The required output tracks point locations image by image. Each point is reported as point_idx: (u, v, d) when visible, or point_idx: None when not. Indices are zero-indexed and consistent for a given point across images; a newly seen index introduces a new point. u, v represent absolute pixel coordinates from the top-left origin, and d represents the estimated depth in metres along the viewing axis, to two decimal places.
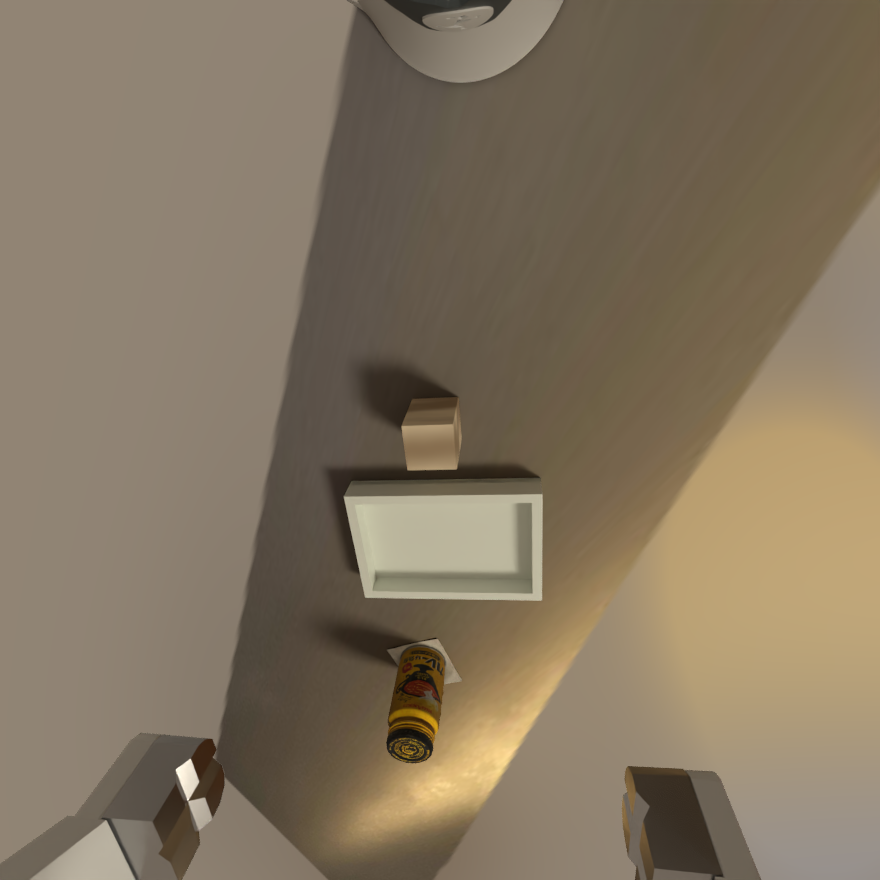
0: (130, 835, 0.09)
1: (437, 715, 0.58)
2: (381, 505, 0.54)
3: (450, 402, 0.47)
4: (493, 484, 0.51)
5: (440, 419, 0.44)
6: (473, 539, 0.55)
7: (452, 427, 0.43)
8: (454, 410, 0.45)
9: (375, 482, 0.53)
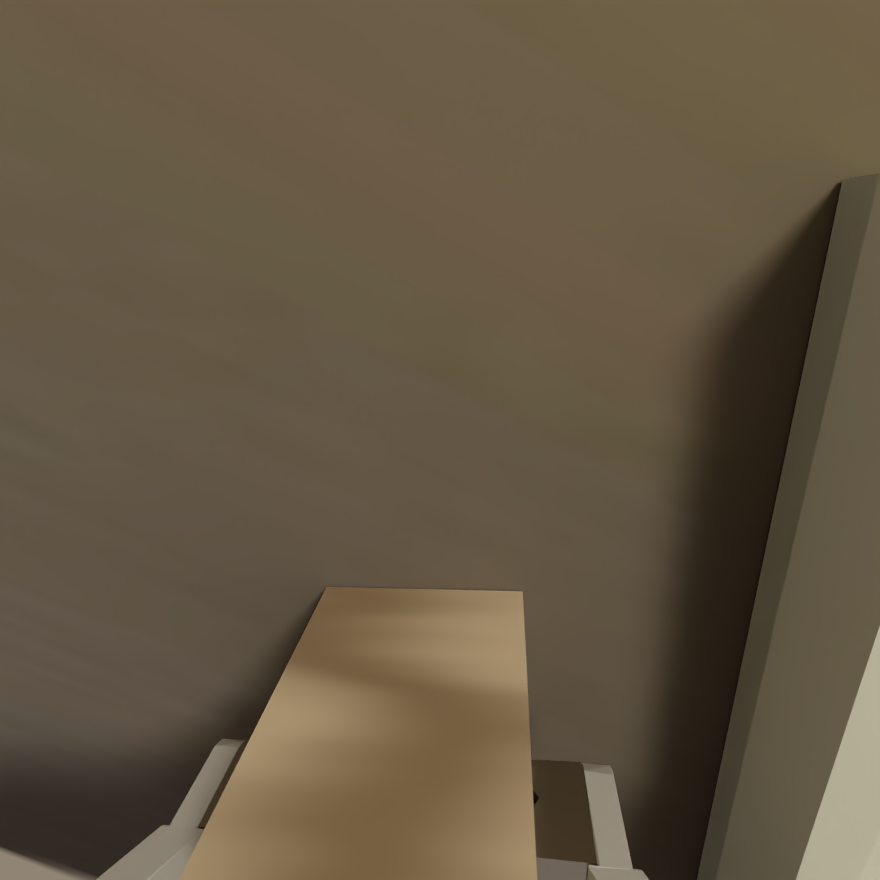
0: None
1: None
2: None
3: None
4: (817, 496, 0.08)
5: None
6: None
7: None
8: (268, 707, 0.09)
9: None
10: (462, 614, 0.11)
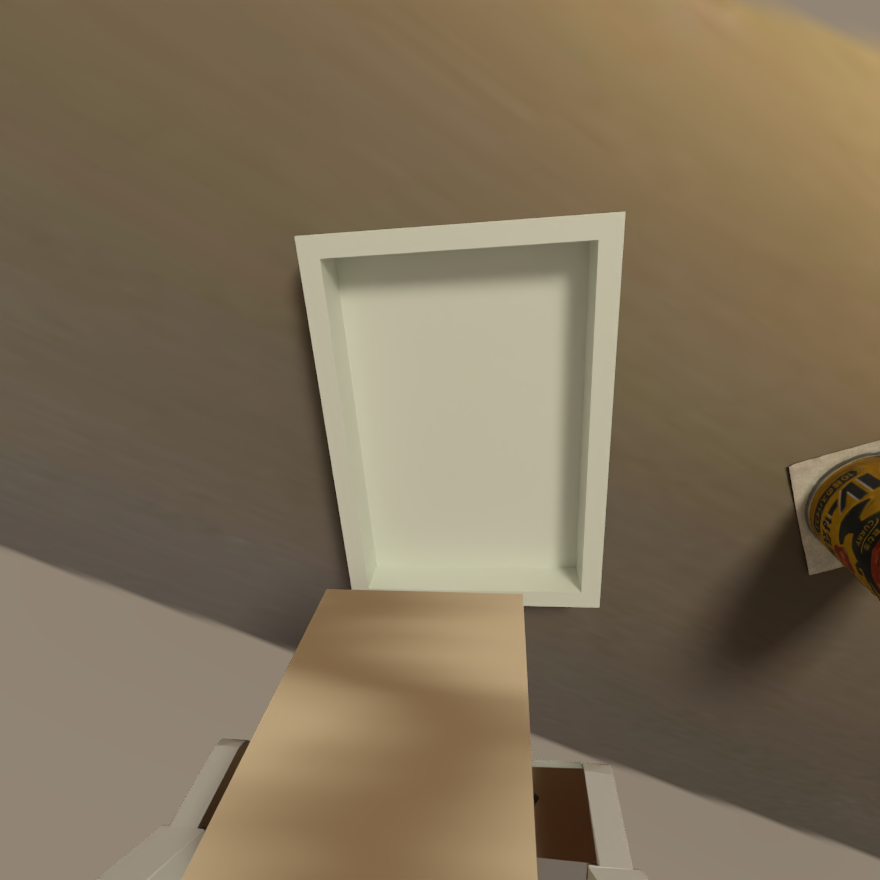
0: None
1: None
2: (399, 536, 0.30)
3: None
4: None
5: None
6: (469, 376, 0.26)
7: None
8: (269, 710, 0.09)
9: None
10: (462, 617, 0.11)
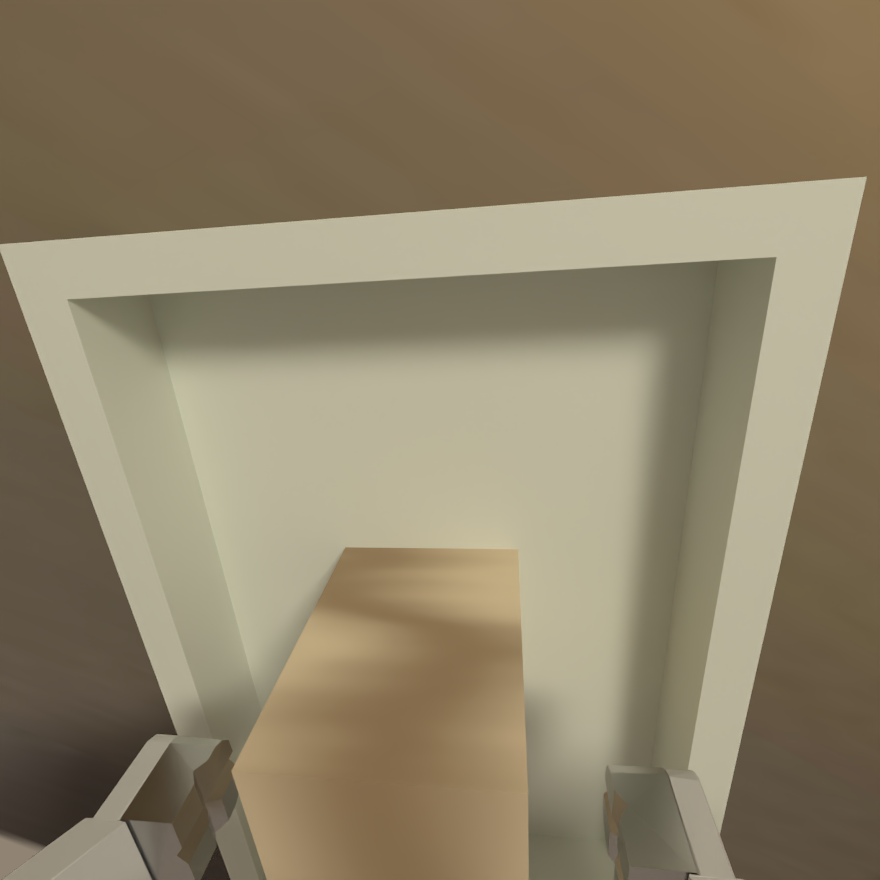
0: (149, 837, 0.09)
1: None
2: None
3: None
4: None
5: None
6: (441, 529, 0.13)
7: (254, 770, 0.08)
8: None
9: None
10: (465, 567, 0.12)
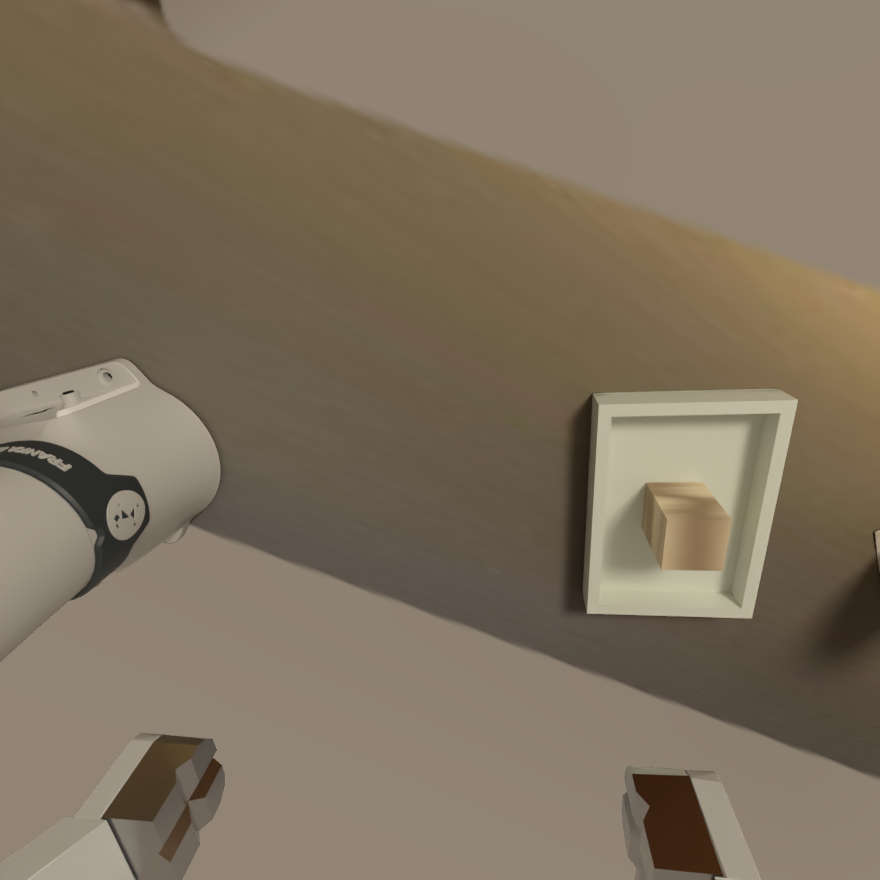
0: (130, 835, 0.09)
1: None
2: (614, 571, 0.46)
3: (649, 496, 0.42)
4: (591, 452, 0.42)
5: (661, 525, 0.39)
6: (679, 476, 0.42)
7: (671, 519, 0.37)
8: (656, 501, 0.40)
9: (584, 570, 0.47)
10: (689, 486, 0.41)
